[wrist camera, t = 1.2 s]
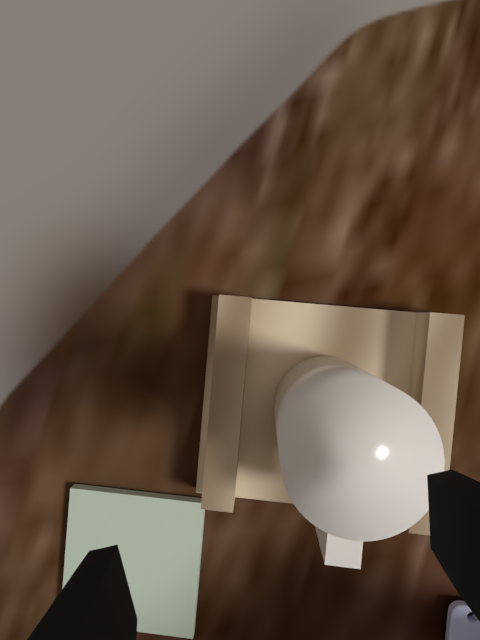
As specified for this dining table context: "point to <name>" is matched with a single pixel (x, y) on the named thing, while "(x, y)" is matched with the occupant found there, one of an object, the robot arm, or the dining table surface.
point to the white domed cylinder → (353, 454)
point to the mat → (143, 550)
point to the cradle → (286, 351)
